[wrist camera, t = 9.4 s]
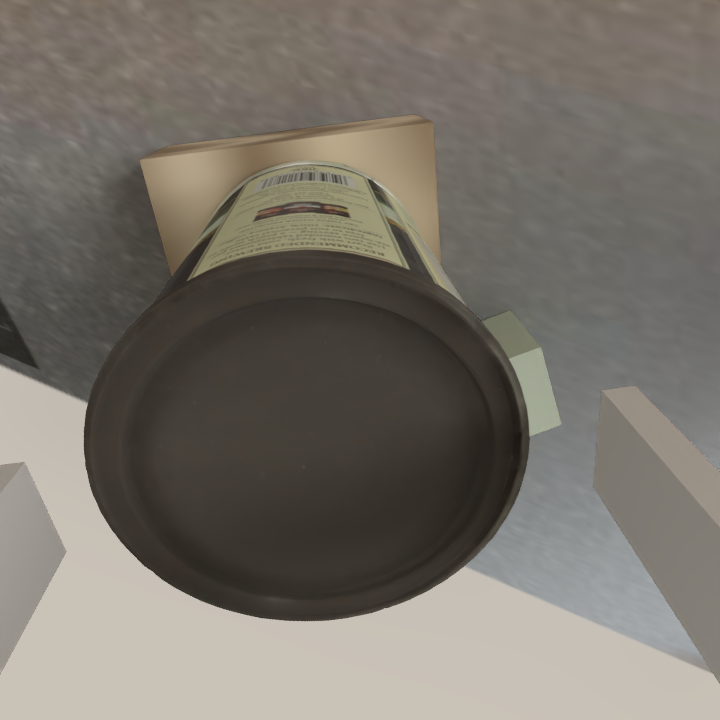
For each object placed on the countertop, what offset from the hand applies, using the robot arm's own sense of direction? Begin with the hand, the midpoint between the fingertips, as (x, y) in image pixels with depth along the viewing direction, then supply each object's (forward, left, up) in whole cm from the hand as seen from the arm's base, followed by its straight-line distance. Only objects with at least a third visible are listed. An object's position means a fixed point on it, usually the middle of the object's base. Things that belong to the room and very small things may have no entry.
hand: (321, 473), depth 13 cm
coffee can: (0, 0, -14) cm, 14 cm away
